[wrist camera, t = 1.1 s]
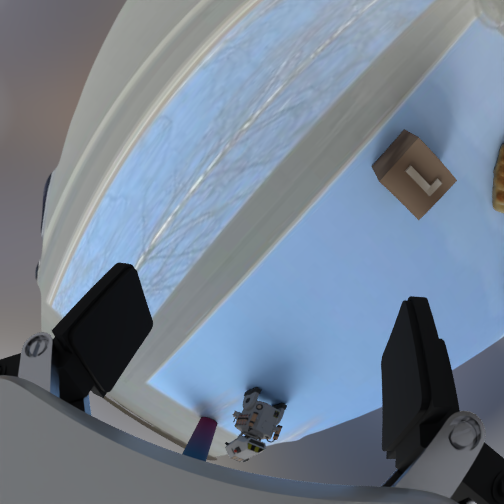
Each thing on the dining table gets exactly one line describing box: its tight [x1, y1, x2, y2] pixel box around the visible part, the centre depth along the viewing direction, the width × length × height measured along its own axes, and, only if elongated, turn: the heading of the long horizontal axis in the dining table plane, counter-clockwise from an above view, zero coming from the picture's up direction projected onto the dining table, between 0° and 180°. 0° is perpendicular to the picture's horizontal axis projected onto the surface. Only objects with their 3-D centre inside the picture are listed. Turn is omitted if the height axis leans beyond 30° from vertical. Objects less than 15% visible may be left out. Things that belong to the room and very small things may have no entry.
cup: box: [183, 417, 217, 462], centre depth 68 cm, size 7×7×15 cm
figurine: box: [225, 387, 287, 462], centre depth 54 cm, size 9×12×15 cm
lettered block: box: [372, 130, 457, 220], centre depth 27 cm, size 6×6×6 cm
